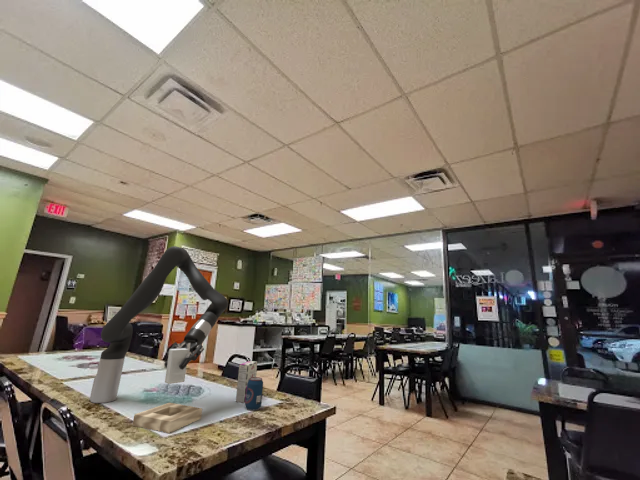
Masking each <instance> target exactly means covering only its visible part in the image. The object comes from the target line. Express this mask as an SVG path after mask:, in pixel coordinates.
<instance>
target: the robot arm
mask: <svg viewBox="0 0 640 480" xmlns="http://www.w3.org/2000/svg"><path fill="white" fill-rule="evenodd" d="M175 268H178V269H180V271H182V273H183V274H184V275H185V277H186V278H187V279H188V280H187V281H189V283H190V286H191V287H192V289H193V290H194V291H195V293H197V295H198V296H199V298H200V299H201V300H203V301H207V300H208V301H209V302H210V304H209V305H208V307H207V308H206V309H205V310H204V312H203V314H202V315H201V316H200V317H199V319H198V320H197V321H196V322H195V323H194V324H193V325H192V327H191V328H190V329H189V330H188V332H187V333H186V334H185V335H184V339H183V341H182V342H180V343H178V342H174V343H173V344H172V345H171V347H170V348H169V349H181V348H186V349H188V354H186V358H184V360H183V361H182V362H181V364H180V365H179V367H180V369H181V370H183V369H184V368H185V367H186V368H187V365H189V363H191V361H196V360H197V359H198V358H199V357H200V355H201V354H202V353H203V352H204V351H205V348H204V346H203V343H204V342H205V340H206V339H207V337H208V336H209V334H210V332H211V330H212V329H213V328H214V326H215V324H216V323H217V321H218V319H219V318H220V316H221V315H222V314H223V313H224V312H225V311H226V309H228V307H229V301H228V299H227V298H226V297H225V295H223V294H222V293H220V292H219V291H218V290H216V289H214V287H213V286H212V284H211V283H210V282H209V281H208V279H206V278H205V276H204V275H203V274H202V272H201V271H200V270H199V269H198V267H197V266H196V264H195V262H194V261H193V259H192V257H191V256H190V254H189V252H188V251H187V250H186V249H184V248H182V247H180V246H178V245H177V246H176V245H175V246H173V245H172V246H171V247H168V248H167V249H166V250H165V251H164V252H163V254H162V255H161V256H160V258H159V260H158V261H157V263H156V264H155V265H154V268H153V269H152V270H151V271H150V272H149V273H148V274H147V276H146V277H145V279H143V281H142V282H141V283H140V284H139V286H138V287H137V288H136V289H135V290H134V292H132V295H131V296H130V297H129V298H128V299H127V301H126V302H125V303H124V304H123V305H122V307H121V308H120V309H119V310H118V311H117V313H116V314H114V315H113V316H112V318H110V320H108V322H106V324H105V325H104V326H103V328H102V330H101V332H100V338H101V340H102V341H103V342H105V343H110V344H109V345H108V347H107V348H106V349H103V351H102V352H101V354H100V357H99V362H98V366H97V372H96V375H95V376H94V377H93V382H92V387H91V391H90V395H89V401H90V402H91V403H95V404H102V403H103V404H105V403H110V402H113V401H116V400H117V398H118V393H119V387H120V383H121V379H122V373H123V368H124V362H125V360H126V359H125V358H126V355H127V353H128V352H129V350H130V346H131V342H132V341H131V340H132V338H133V337H132V336H133V333H134V331H133V325H132V323H131V321H132V319H134V318H135V317H136V316H137V315H139V314H140V313H142V312H143V311H145V310H147V308H149V307H150V306H151V304H153V303H154V301H155V300H156V299H157V298H158V297H159V295H160V294H161V292H162V290H163V288H164V285H165V282H166V280H167V278H168V276H169V275H170V274H171V272H172V271H173V270H174V269H175ZM166 355H167V356H168V355H169V350H168V351H167V353H166ZM167 363H168V358H167V359H166V361H165V362H164V367H165V368H166V369H167Z"/></svg>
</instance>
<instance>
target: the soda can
mask: <svg viewBox="0 0 640 480" xmlns="http://www.w3.org/2000/svg"><path fill="white" fill-rule="evenodd" d="M263 390H264V381H263V377H260V376H259V377H258V376H256V377H251V378H249V381H248V383H247V392H246V401H245V403H244V406H245V408H246V410H247V411H258V410H260V408H261V407H262V404H263V403H262V402H263V401H262V400H263V392H264V391H263Z"/></svg>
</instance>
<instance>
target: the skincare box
mask: <svg viewBox="0 0 640 480" xmlns="http://www.w3.org/2000/svg"><path fill="white" fill-rule="evenodd" d="M168 351H169V355H167V356H168V358H167V359H168V363H167V368H166V371H165V376H164V377H165V378H164V383H165V384H167V385H172V384H179V383H184V382H186V381H185V379H186V372H187V366H186V367H185V368H184V369H183V370H181V369H180V367H179V365H180V364H181V362H182V361H183V360H184V358H186V354H188V349H186V348H181V349H170V348H169V349H168Z"/></svg>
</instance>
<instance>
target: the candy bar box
mask: <svg viewBox="0 0 640 480" xmlns="http://www.w3.org/2000/svg"><path fill="white" fill-rule="evenodd" d="M257 369H258V361H255V360H254V361H252V360H249V361H248V360H247V361H246V362H243V363H240V364H239V365H238V372H237V373H238V374H237V375H238V377H237V387H236V394H235V395H236V396H235V403H242V404H245V401H246V392H247V383H248V381H249V378H251V377H257V371H258V370H257Z"/></svg>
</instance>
